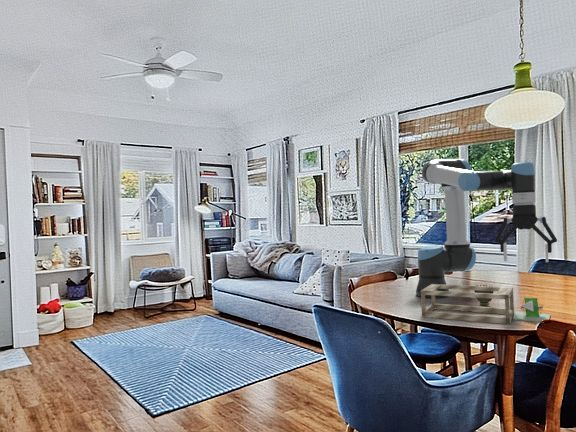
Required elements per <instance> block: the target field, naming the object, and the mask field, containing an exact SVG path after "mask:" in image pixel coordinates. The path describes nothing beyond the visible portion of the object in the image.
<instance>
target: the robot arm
mask: <svg viewBox="0 0 576 432" xmlns="http://www.w3.org/2000/svg"><path fill="white" fill-rule="evenodd" d="M510 166H511V169H508V170H490V171H489V170H488V171H475V170H472V166H471V165H470V163H469V162H468V161H467V160H466V159H465V158H464V159H463V158H443V159H441V158H439V159H438V158H437V159H431V160H429V161H427V162H426V163H425V164H424V165H423V167H422V168H421V177H422V179H423V180H424V181H425V182H427V183H429V184H434V185H436V184H440V186H441V189H442V190H443V191H444V200H445V218H446V219H445V223H446V241H445V242H444V244H443V245H440V244H439V245H438V244H435V245H434V244H433V245H427V246H424V247H421V248H420V249H418V250H417V265H418V266H417V267H418V281H417V284H416V289H415V296H416V295H418V296H417V297H419V296H421V290H423V289H424V288H426V287H428V286H429V285H431V284H440V285H448V284H447V281H446V279H445V273H455V272H462V273H463V272H466V271H470V270H472V269H473V267H474V266H475V265H476V262H477V261H476V260H477V255H476V254H477V253H476V251H475V248H474V247H472V246H471V243H470V242H469V241H468V239H467V233H466V232H467V229H466V228H467V227H466V225H467V224H466V209H465V192H479V191H481V192H482V191H484V192H485V191H507V190H512V191H511V195H512V196H511V197H512V199H511V200H512V204H513V206H512V217H511V218H510V217H504V218H503V222H502V225H501V227H500V229H499V231H498V233H497V235H496V236H495V239H494V243H499V245H500V250H499V251H500V252H501V253H503V261H504V262H507V261H508V251H507V250H508V249H507V247H508V246H507V244H508V243H506V241H507V240H508V239H509V238H510V237H511V236H512V235H513V234H514V233H515V231H516V230H517V229H518V230H531V229H532V230H533V231H535V233H536V234H537V235H538V236H540V238H542V240H544V241H545V242H546V243H544V249H545V250H544V252H545V263H549V253H550V254H551V253H552V245H553V244H554V243H557V242H558V238H557V237H556V236H555V233H554V232H553V231H552V229H551V228H550V226H549V224H548V223H547V217H546V216H542V217H537V214H536V213H537V212H536V211H537V210H536V209H537V207H536V205H535V203H536V181H535V179H536V177H535V174H536V172H535V166H534V163H532V162H527V161H526V162H515V163H513V164H511V165H510ZM538 222H539V224H542V225H543V227H544V229H545V231H546V233H548V235H549V237H550V238H549V237H548V236H547V235H545V233H543V231H542V230H540V228H538V227H537V226H536V223H538ZM510 223H513V225H514V226H512V228H510V230H509V231H508V232H507V233H506V234H505V235H504V237H502V236H503V234H504V233H505V232H504V231H505V230H506V228H507V226H508V224H510ZM501 238H502V239H501ZM436 291H450V289H437V290H436ZM425 297H429V298H428V299H431V295H425ZM441 297H443V298H447V297H449V296H438V295H435V299H442V298H441Z"/></svg>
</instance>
